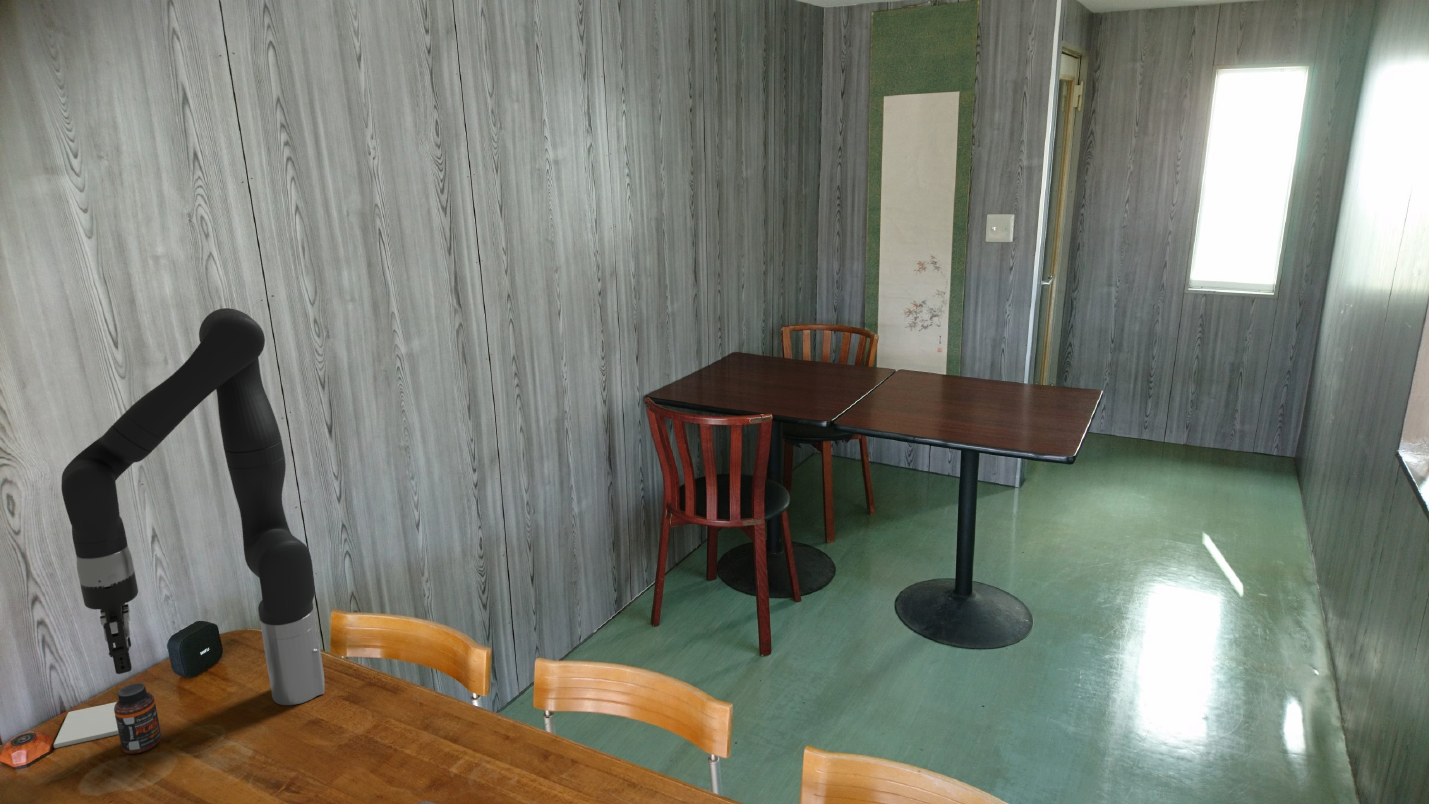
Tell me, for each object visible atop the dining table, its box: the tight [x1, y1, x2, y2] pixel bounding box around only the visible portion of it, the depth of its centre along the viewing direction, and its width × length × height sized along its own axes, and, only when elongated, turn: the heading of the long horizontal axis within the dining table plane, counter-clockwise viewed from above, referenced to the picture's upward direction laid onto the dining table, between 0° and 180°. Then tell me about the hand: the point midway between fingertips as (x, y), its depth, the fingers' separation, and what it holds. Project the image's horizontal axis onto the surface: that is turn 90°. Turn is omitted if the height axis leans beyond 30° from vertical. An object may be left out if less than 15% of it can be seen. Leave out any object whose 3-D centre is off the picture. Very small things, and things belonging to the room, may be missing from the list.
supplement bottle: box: [114, 682, 162, 755], centre depth 149 cm, size 6×6×11 cm
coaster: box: [53, 701, 119, 749], centre depth 156 cm, size 10×10×1 cm
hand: (124, 660), depth 146 cm, fingers open, 8 cm apart
